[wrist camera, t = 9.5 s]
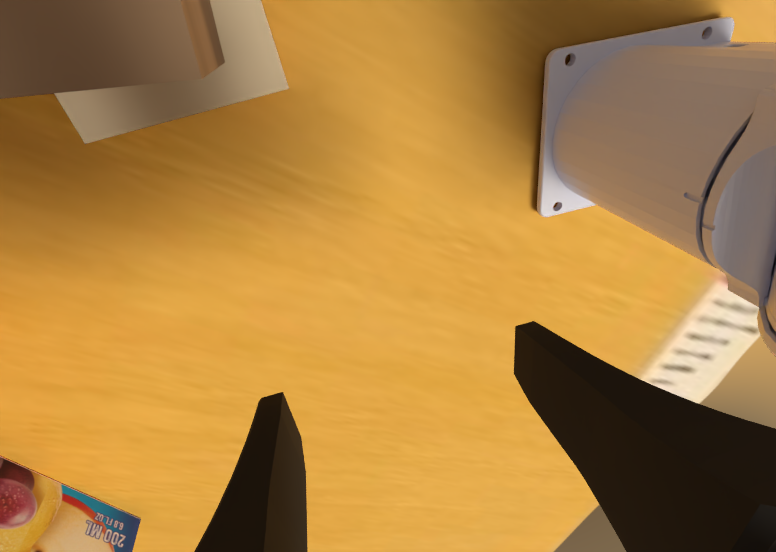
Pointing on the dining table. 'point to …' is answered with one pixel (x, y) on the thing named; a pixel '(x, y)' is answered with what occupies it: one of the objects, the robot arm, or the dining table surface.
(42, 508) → the juice carton
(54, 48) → the walnut block
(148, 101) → the oak base
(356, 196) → the dining table surface
